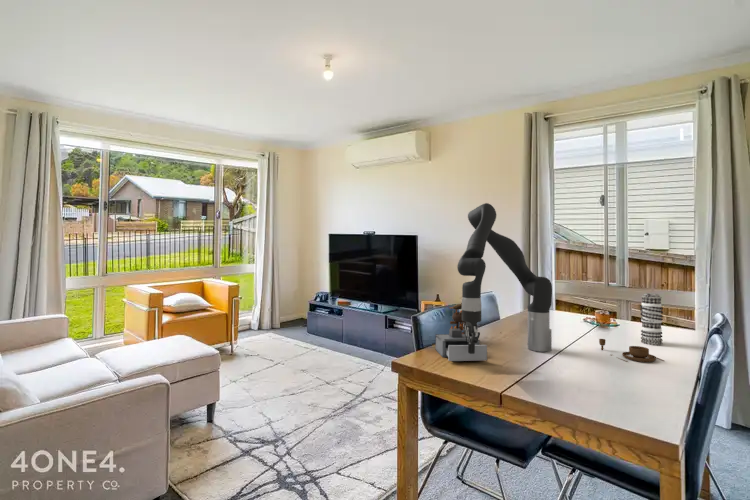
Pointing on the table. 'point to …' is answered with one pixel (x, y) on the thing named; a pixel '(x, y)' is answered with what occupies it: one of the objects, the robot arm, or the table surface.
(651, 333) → the decorative candle
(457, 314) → the brown tall lumpy piece
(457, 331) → the grey drawer box
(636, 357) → the place setting
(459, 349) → the grey drawer
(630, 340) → the table surface
